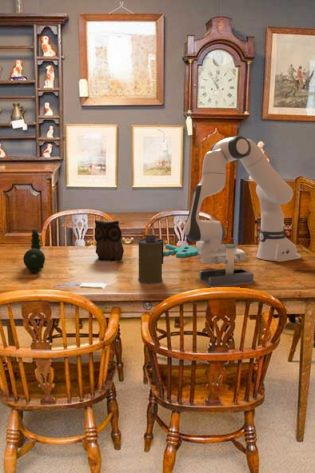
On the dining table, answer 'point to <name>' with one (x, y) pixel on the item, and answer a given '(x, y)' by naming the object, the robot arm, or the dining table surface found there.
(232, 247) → the flanged post
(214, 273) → the keyhole track
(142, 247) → the canister
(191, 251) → the alien figure
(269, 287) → the dining table surface
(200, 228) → the robot arm
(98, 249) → the owl
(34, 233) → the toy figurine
